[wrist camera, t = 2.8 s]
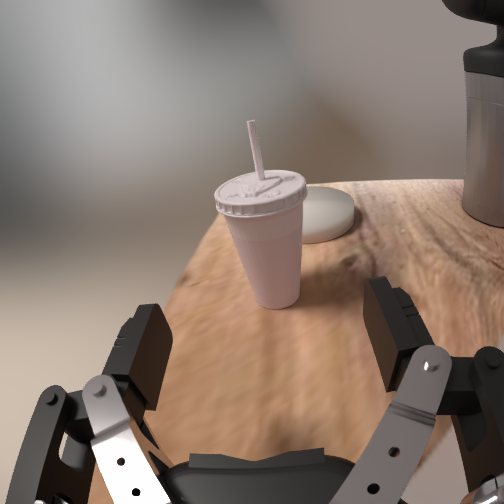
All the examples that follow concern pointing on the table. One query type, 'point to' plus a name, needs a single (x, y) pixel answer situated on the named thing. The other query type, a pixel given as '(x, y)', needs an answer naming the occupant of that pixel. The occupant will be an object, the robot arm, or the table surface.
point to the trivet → (326, 214)
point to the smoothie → (266, 227)
